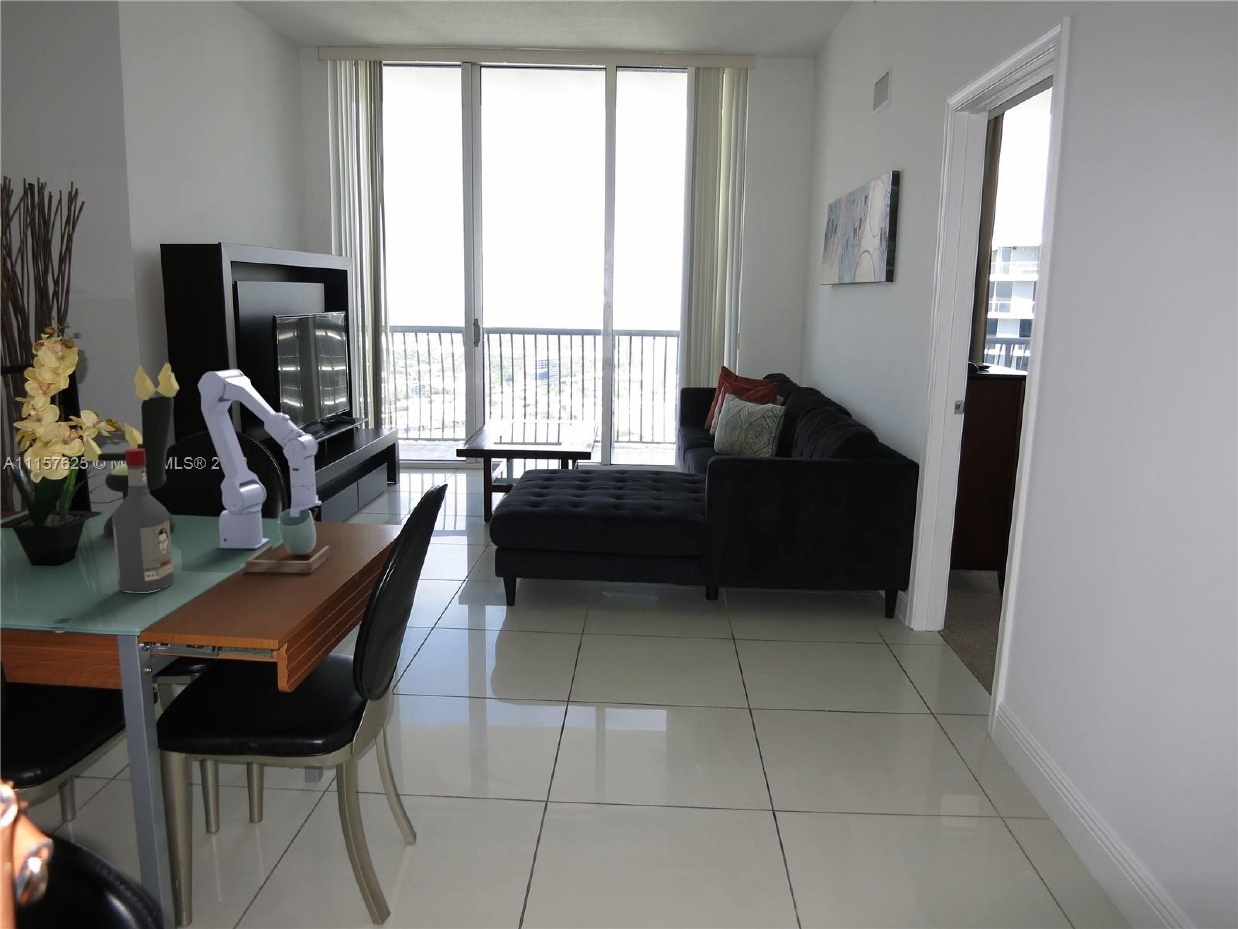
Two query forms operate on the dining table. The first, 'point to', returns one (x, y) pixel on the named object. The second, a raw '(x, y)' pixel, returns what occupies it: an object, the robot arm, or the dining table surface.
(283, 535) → the cup
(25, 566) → the dining table surface
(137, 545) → the liquor
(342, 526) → the dining table surface
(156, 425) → the flowering cactus
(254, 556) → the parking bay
